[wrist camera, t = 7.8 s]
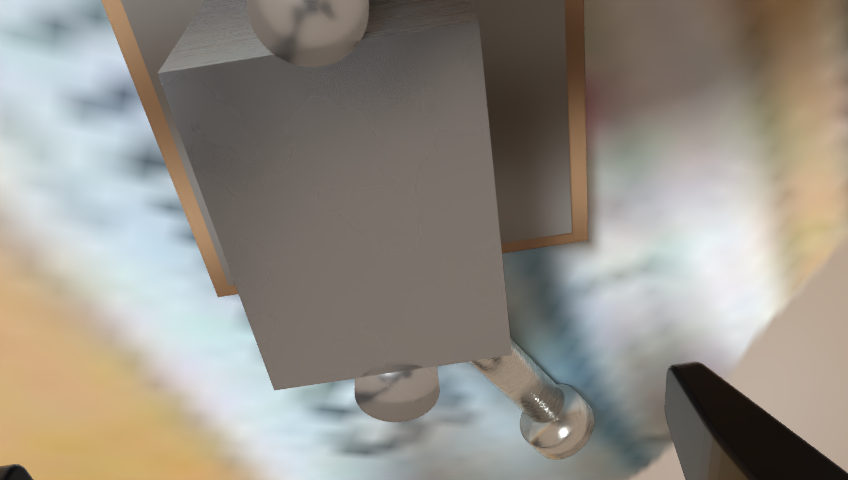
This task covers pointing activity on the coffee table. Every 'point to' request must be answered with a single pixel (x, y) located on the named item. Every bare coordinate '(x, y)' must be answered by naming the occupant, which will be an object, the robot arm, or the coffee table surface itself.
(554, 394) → the loose bolt
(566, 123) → the plinth
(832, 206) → the coffee table surface
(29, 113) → the coffee table surface
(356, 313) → the block
